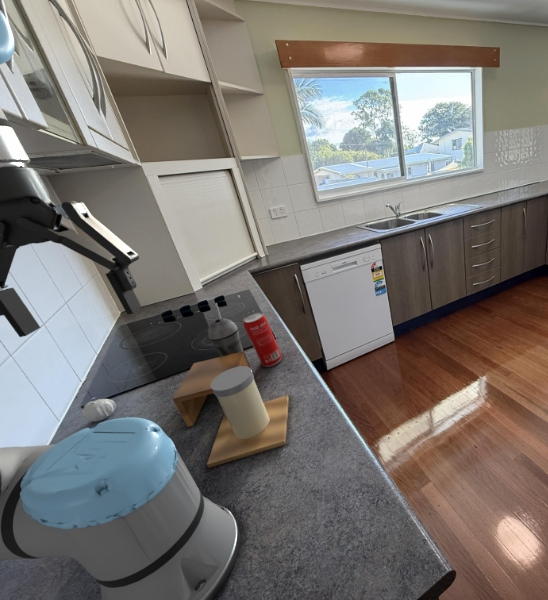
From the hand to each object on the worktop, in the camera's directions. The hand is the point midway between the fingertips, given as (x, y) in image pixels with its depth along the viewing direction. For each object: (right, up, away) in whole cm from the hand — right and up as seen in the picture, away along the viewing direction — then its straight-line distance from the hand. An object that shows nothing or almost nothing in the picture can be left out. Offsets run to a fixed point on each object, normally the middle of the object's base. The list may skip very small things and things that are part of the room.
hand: (84, 321), depth 47 cm
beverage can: (+11, -15, +43) cm, 46 cm away
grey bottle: (+2, -16, +42) cm, 45 cm away
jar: (+16, -23, +19) cm, 34 cm away
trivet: (+16, -24, +19) cm, 35 cm away
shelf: (+4, -21, +30) cm, 37 cm away
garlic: (-25, -26, +30) cm, 47 cm away
